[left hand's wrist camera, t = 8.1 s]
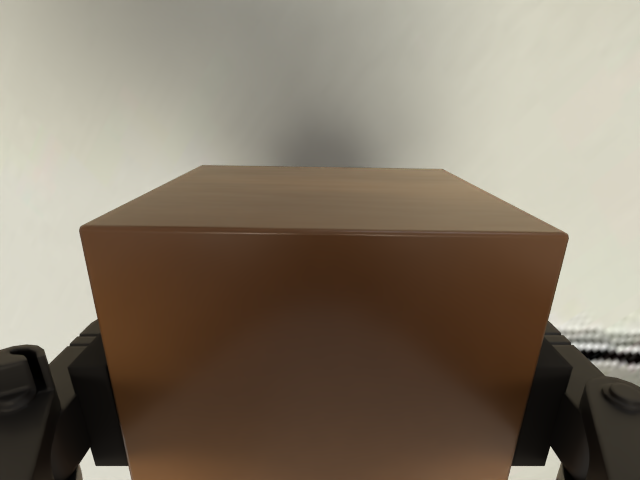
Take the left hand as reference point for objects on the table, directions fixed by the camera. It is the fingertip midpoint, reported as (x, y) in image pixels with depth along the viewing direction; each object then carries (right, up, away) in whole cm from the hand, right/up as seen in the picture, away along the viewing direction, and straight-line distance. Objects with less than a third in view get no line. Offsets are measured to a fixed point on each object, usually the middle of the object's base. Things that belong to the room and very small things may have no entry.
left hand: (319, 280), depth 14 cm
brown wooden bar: (0, -31, +12) cm, 33 cm away
